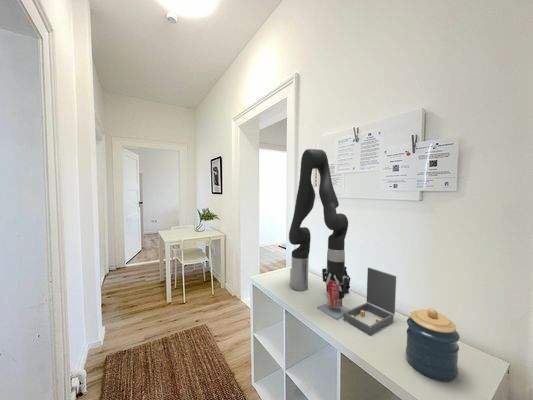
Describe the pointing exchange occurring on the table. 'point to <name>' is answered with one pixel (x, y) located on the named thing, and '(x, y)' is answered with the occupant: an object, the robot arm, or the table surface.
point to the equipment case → (375, 302)
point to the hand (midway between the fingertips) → (334, 295)
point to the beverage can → (334, 295)
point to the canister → (432, 344)
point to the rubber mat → (333, 311)
